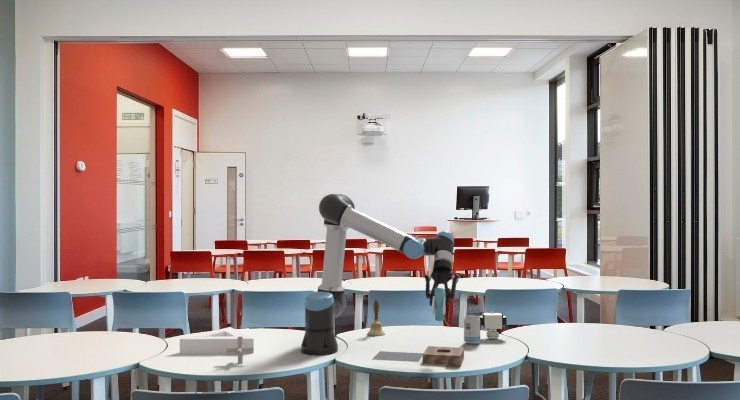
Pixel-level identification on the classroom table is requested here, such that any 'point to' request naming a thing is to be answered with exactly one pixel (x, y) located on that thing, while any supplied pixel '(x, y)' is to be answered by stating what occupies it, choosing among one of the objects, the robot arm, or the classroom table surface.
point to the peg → (439, 304)
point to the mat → (398, 356)
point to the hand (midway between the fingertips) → (438, 312)
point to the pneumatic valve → (492, 323)
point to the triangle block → (214, 341)
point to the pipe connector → (240, 349)
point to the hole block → (444, 356)
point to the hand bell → (376, 323)
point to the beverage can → (472, 329)
